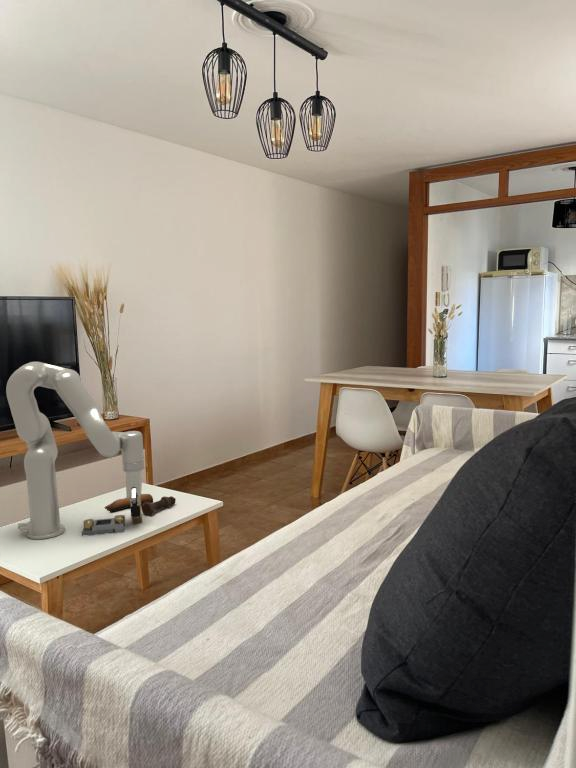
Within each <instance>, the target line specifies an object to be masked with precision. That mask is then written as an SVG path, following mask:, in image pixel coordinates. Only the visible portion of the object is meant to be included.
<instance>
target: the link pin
mask: <svg viewBox="0 0 576 768" xmlns="http://www.w3.org/2000/svg"><path fill="white" fill-rule="evenodd" d="M136 497H137V496H136ZM136 500H137V499H136ZM130 501H131V496H130ZM139 505H140V516H139V517H131V524H132V525H141V524H142V523H143V518H142V516H143V515H142V514H143V513H142V504H141V497H140V498H139Z"/></svg>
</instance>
